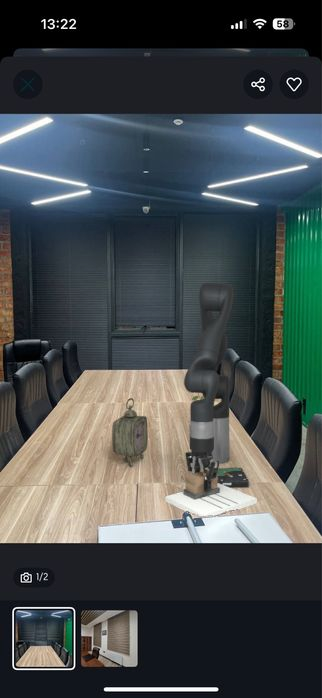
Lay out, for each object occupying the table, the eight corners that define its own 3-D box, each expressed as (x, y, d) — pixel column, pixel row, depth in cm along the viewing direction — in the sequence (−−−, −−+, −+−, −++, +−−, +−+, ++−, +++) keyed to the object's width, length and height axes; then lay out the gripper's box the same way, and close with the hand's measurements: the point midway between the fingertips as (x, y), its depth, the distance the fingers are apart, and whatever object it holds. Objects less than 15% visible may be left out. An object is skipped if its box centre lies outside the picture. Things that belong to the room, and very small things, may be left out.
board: (165, 501, 153) (165, 496, 153) (216, 487, 166) (216, 482, 165) (203, 520, 139) (203, 515, 139) (257, 503, 151) (257, 498, 151)
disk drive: (249, 489, 165) (241, 474, 180) (249, 481, 165) (241, 466, 180) (218, 490, 165) (212, 474, 180) (218, 481, 165) (212, 467, 179)
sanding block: (194, 499, 150) (194, 480, 150) (183, 494, 155) (183, 475, 154) (219, 492, 156) (219, 473, 156) (208, 487, 160) (208, 469, 160)
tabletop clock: (133, 468, 186) (132, 402, 184) (111, 466, 189) (110, 400, 187) (147, 458, 199) (147, 395, 198) (127, 456, 203) (126, 394, 201)
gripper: (226, 437, 150) (226, 493, 152) (196, 428, 162) (196, 479, 163) (207, 441, 146) (207, 498, 147) (178, 431, 158) (178, 484, 159)
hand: (201, 488), depth 155 cm, fingers closed on sanding block, 4 cm apart
